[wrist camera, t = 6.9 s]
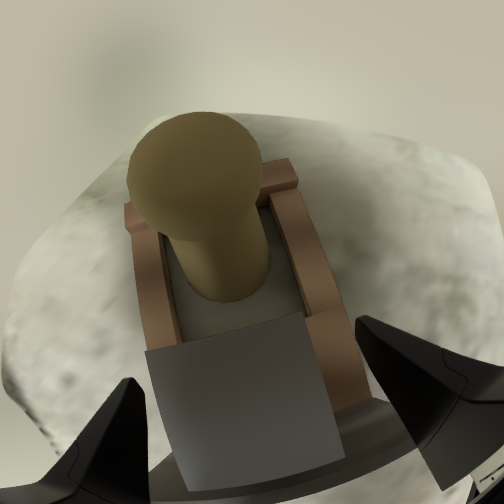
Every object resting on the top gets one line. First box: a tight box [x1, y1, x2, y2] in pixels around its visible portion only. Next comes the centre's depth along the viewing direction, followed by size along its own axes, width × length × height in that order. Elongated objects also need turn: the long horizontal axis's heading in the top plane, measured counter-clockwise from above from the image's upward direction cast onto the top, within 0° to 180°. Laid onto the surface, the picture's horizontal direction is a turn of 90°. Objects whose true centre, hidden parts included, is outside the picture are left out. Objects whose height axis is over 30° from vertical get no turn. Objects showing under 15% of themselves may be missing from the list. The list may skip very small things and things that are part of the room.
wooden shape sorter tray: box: [124, 158, 417, 504], centre depth 11 cm, size 18×12×11 cm, turn 16°
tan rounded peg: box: [126, 112, 271, 303], centre depth 13 cm, size 6×6×11 cm
